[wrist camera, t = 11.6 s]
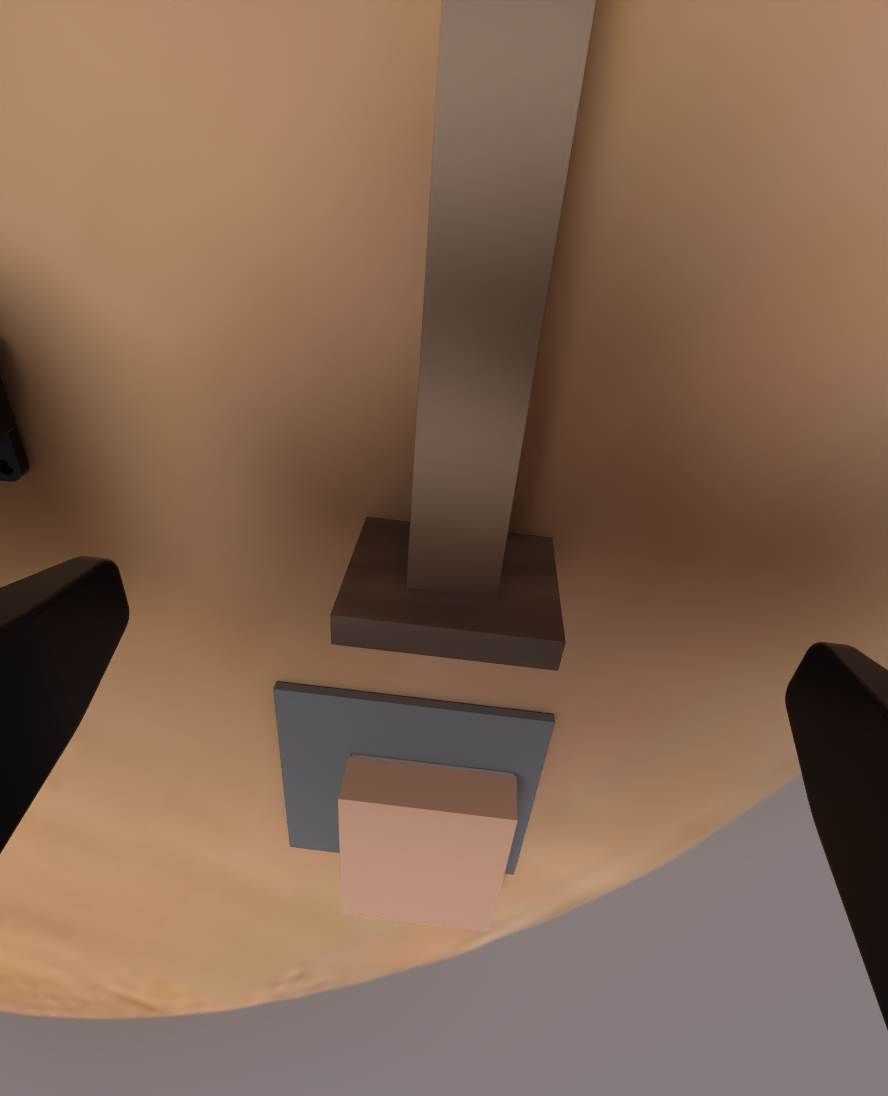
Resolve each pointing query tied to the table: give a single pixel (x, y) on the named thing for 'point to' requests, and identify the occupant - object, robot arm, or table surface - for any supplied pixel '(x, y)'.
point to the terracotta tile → (424, 841)
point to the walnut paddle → (479, 348)
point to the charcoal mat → (395, 749)
